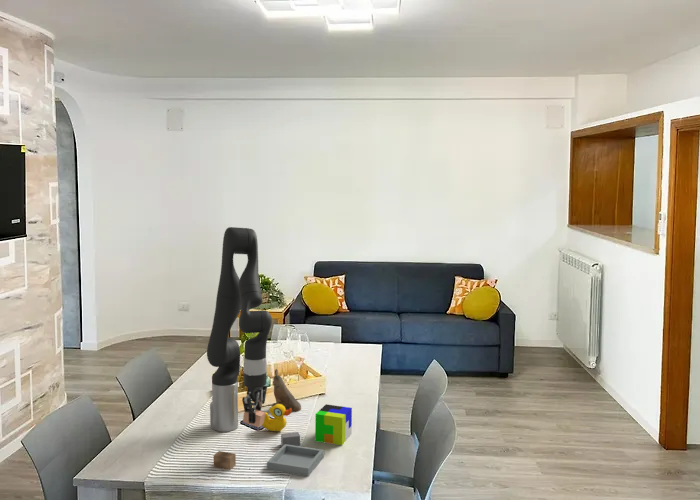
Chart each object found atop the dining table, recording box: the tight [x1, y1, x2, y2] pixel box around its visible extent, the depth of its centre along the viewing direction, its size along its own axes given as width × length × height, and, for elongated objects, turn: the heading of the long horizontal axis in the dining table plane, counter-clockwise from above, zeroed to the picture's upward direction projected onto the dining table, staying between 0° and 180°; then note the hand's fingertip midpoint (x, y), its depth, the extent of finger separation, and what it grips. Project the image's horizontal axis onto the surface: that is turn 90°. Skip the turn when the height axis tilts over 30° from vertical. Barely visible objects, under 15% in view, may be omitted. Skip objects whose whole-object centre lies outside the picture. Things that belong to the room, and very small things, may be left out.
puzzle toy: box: [314, 404, 353, 446], centre depth 224 cm, size 10×10×10 cm
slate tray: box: [266, 444, 325, 477], centre depth 204 cm, size 14×14×3 cm
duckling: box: [261, 404, 292, 432], centre depth 230 cm, size 11×5×10 cm, turn 82°
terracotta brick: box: [242, 410, 266, 428], centre depth 209 cm, size 6×4×4 cm, turn 72°
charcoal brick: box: [280, 431, 301, 447], centre depth 218 cm, size 6×4×4 cm, turn 106°
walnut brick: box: [212, 450, 237, 471], centre depth 202 cm, size 6×4×4 cm, turn 71°
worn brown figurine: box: [270, 368, 302, 413], centre depth 251 cm, size 12×6×18 cm, turn 81°
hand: (254, 420), depth 209 cm, fingers closed on terracotta brick, 3 cm apart
